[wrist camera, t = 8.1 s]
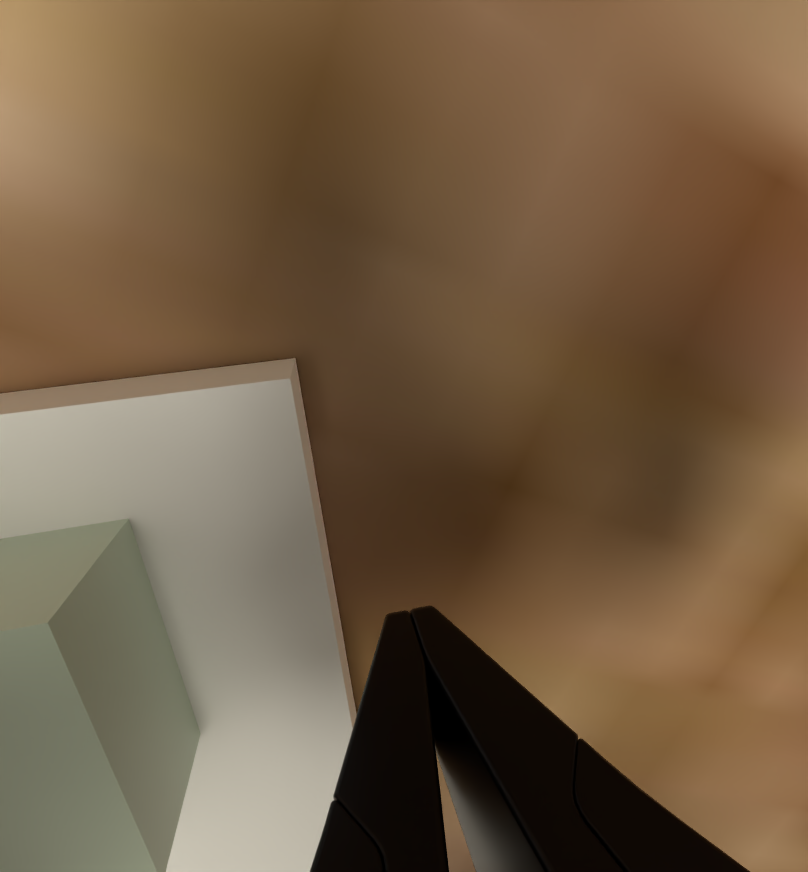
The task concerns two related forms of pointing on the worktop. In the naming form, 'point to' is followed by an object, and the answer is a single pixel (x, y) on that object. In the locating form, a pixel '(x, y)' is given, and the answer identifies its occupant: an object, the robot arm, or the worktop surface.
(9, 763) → the sage tile
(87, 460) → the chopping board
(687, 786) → the worktop surface
